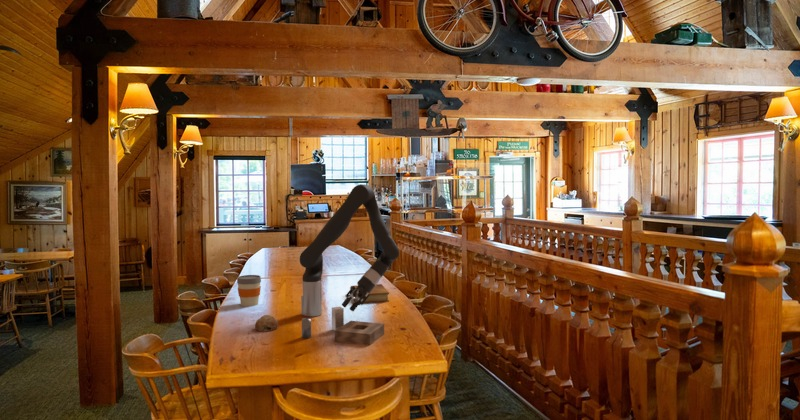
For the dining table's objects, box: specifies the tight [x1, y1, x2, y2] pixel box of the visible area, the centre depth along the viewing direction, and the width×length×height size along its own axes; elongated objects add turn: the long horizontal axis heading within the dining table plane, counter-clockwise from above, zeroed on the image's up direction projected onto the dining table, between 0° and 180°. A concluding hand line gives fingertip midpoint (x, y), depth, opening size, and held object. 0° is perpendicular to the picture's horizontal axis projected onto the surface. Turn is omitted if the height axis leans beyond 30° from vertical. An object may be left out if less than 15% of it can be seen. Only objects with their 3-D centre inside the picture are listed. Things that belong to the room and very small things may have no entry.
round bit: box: [301, 317, 312, 340], centre depth 222 cm, size 4×4×8 cm
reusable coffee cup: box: [236, 274, 262, 307], centre depth 281 cm, size 13×13×15 cm
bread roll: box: [254, 314, 279, 332], centre depth 236 cm, size 10×10×8 cm
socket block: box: [334, 320, 385, 346], centre depth 222 cm, size 16×16×4 cm
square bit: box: [331, 306, 345, 332], centre depth 233 cm, size 4×4×10 cm
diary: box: [349, 283, 390, 304], centre depth 295 cm, size 23×19×6 cm
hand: (347, 308), depth 235 cm, fingers open, 8 cm apart
